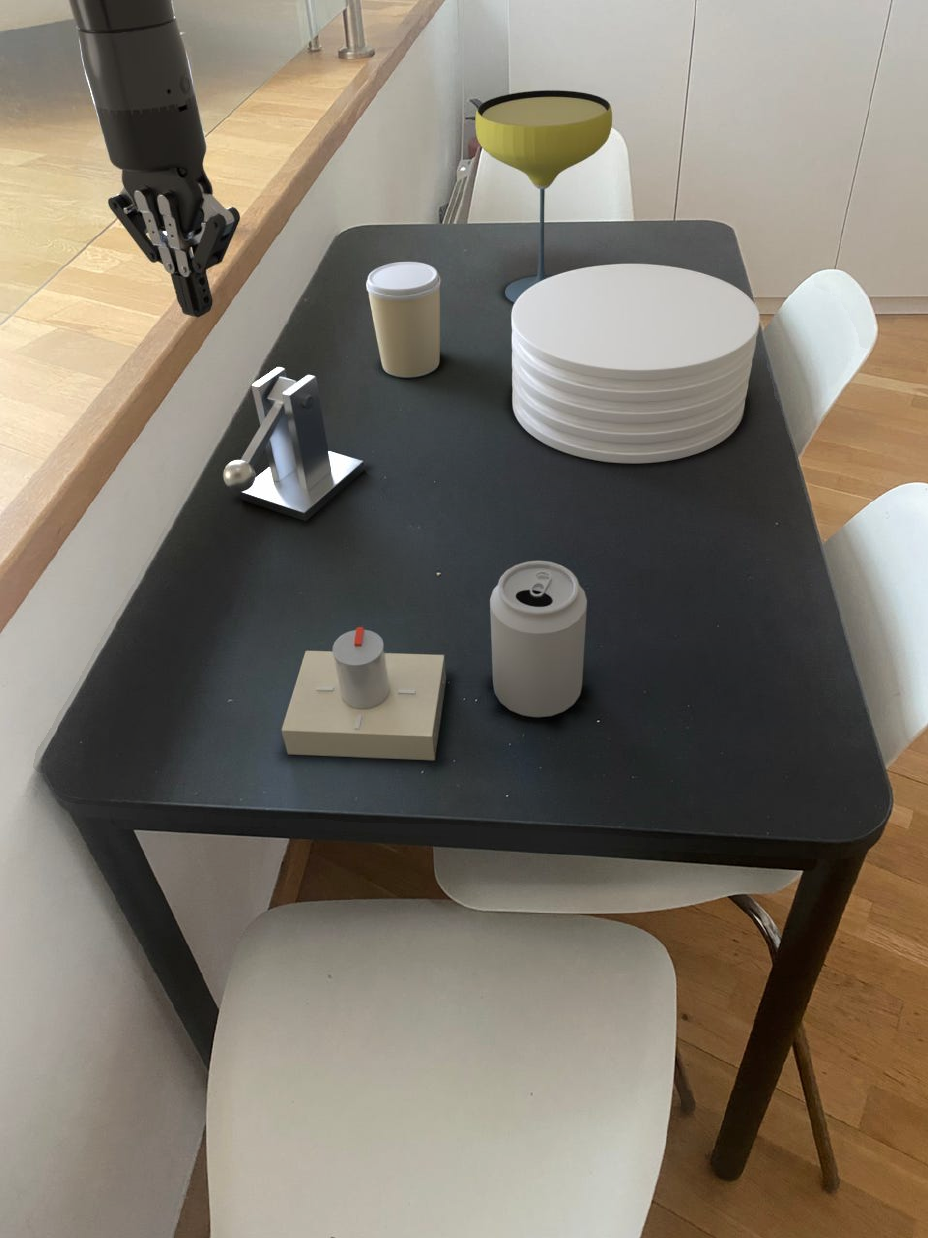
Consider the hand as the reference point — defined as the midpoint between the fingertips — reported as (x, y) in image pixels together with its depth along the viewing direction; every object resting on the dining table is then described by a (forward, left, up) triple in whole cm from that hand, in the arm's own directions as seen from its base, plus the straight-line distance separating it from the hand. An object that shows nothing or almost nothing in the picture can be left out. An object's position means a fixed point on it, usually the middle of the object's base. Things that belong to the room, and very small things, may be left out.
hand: (198, 312), depth 81 cm
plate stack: (+48, +7, -24) cm, 54 cm away
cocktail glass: (+52, +41, -24) cm, 70 cm away
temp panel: (+4, -30, -24) cm, 39 cm away
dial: (+4, -30, -21) cm, 37 cm away
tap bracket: (+7, +6, -24) cm, 25 cm away
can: (+18, -33, -24) cm, 45 cm away
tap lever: (+4, +3, -16) cm, 17 cm away
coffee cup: (+27, +28, -24) cm, 45 cm away
